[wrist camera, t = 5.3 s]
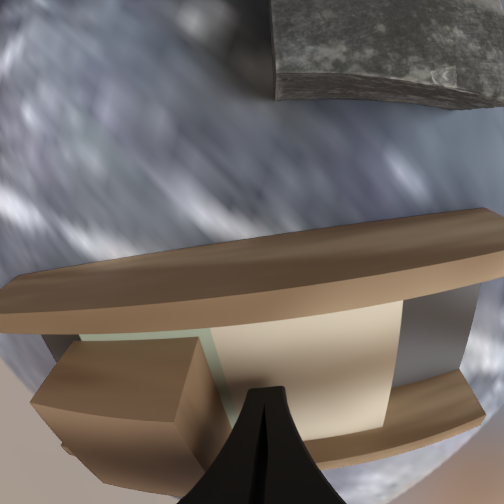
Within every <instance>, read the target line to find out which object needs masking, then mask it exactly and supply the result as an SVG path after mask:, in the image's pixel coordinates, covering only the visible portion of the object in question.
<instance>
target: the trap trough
mask: <svg viewBox="0 0 504 504" xmlns="http://www.w3.org/2000/svg"><path fill="white" fill-rule="evenodd" d="M503 276H504V217H502V216H500V215H498V214H497V213H495V212H493V211H491V210H488V209H486V208H477V209H468V210H460V211H452V212H443V213H435V214H427V215H419V216H411V217H404V218H396V219H388V220H380V221H373V222H365V223H358V224H350V225H343V226H335V227H328V228H321V229H314V230H306V231H299V232H292V233H285V234H278V235H271V236H264V237H257V238H250V239H243V240H237V241H230V242H223V243H216V244H210V245H203V246H196V247H190V248H183V249H177V250H170V251H164V252H157V253H151V254H144V255H138V256H132V257H126V258H119V259H113V260H107V261H101V262H95V263H88V264H82V265H76V266H70V267H64V268H58V269H52V270H47V271H41V272H35V273H29V274H23V275H19V276H17V277H16V278H15V279H13V280H12V281H11V282H9V283H8V284H7V285H6V286H4V287H3V288H2V289H1V290H0V333H14V334H41V335H42V337H43V339H44V341H45V343H46V345H47V347H48V348H49V350H50V352H51V354H52V355H53V357H54V359H55V361H56V362H58V361H59V360H60V358H61V357H62V356H63V354H64V353H65V352H66V350H67V349H68V348H69V346H70V345H71V344H72V342H73V341H115V340H147V339H167V338H184V337H198V336H199V339H200V342H201V345H202V348H203V351H204V354H205V357H206V360H207V362H208V365H209V368H210V371H211V374H212V377H213V379H214V382H215V385H216V388H217V390H218V393H219V396H220V399H221V401H222V404H223V406H224V409H225V412H226V414H227V417H228V419H229V422H230V425H231V427H232V429H233V427H234V425H235V423H236V421H237V419H238V416H239V414H240V412H241V409H242V407H243V404H244V401H245V398H246V395H247V392H248V390H249V389H252V388H263V387H273V386H284V387H285V390H286V396H287V402H288V406H289V409H290V413H291V415H292V418H293V421H294V423H295V425H296V428H297V430H298V432H299V434H300V436H301V438H302V440H303V442H304V444H305V446H306V448H307V450H308V452H309V453H310V455H311V457H312V458H313V460H314V462H315V463H316V465H317V466H318V468H319V469H320V470H327V469H334V468H340V467H345V466H351V465H356V464H361V463H365V462H370V461H374V460H379V459H383V458H387V457H390V456H394V455H398V454H402V453H405V452H408V451H412V450H415V449H418V448H421V447H424V446H428V445H430V444H433V443H436V442H439V441H442V440H445V439H447V438H450V437H453V436H455V435H458V434H460V433H463V432H465V431H467V430H470V429H472V428H474V427H477V426H479V425H481V423H482V421H483V419H484V418H485V416H486V414H485V412H484V410H483V408H482V406H481V405H480V403H479V401H478V399H477V398H476V396H475V394H474V393H473V391H472V389H471V387H470V386H469V384H468V383H467V381H466V379H465V378H464V376H463V374H462V373H461V371H460V370H459V367H460V364H461V361H462V357H463V354H464V351H465V347H466V344H467V341H468V337H469V333H470V329H471V325H472V321H473V317H474V313H475V309H476V304H477V299H478V294H479V289H480V284H481V282H484V281H488V280H492V279H495V278H499V277H503ZM61 446H62V448H63V449H64V450H65V451H66V452H67V453H68V454H70V455H74V454H73V453H72V452H71V451H70V450H69V449H68V448H67V447H66V446H65V445H64V443H63V442H62V444H61ZM74 456H75V455H74Z"/></svg>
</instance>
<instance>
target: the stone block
mask: <svg viewBox="0 0 504 504" xmlns="http://www.w3.org/2000/svg"><path fill="white" fill-rule="evenodd" d="M268 7H269V19H270V31H271V47H272V60H273V77H274V94H275V100H276V101H281V100H305V99H355V100H376V101H388V102H399V103H413V104H422V105H426V106H435V107H440V108H442V109H448V110H466V109H467V110H471V109H478V108H494V107H504V12H503V9H502V5H501V1H500V0H268Z"/></svg>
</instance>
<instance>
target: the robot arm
mask: <svg viewBox="0 0 504 504" xmlns="http://www.w3.org/2000/svg"><path fill="white" fill-rule="evenodd" d="M177 504H346V503H345V501H344V500H343V499H342V498H341V497H340V496H339V495H338V493H337V492H336V491H335V490H334V488H333V487H332V486H331V484H330V483H329V482H328V481H327V479H326V478H325V477H324V475H323V474H322V472H321V471H320V469H319V468H318V466H317V465H316V463H315V462H314V460H313V458H312V457H311V455H310V453H309V452H308V450H307V448H306V446H305V444H304V442H303V440H302V438H301V436H300V434H299V432H298V430H297V428H296V425H295V423H294V421H293V418H292V415H291V413H290V409H289V406H288V402H287V396H286V390H285V387H284V386H273V387H263V388H252V389H249V390H248V392H247V395H246V398H245V401H244V404H243V407H242V409H241V412H240V414H239V416H238V419H237V421H236V423H235V425H234V427H233V429H232V431H231V433H230V435H229V437H228V439H227V440H226V442H225V444H224V446H223V447H222V449H221V451H220V452H219V454H218V455H217V457H216V459H215V460H214V461H213V463H212V464H211V466H210V467H209V468H208V470H207V471H206V472H205V474H204V475H203V476H202V477H201V479H200V480H199V481H198V482H197V483H196V484H195V486H194V487H193V488H192V489H191V490H190V491H189V492H188V493H187V494H186V495H185V496H184V497H183V498H182V499H181V500H180V501H179V502H178V503H177Z"/></svg>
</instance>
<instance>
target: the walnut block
mask: <svg viewBox="0 0 504 504" xmlns="http://www.w3.org/2000/svg"><path fill="white" fill-rule="evenodd" d="M30 403H31V405H32V406H33V408H34V409H35V410H36V411H37V413H38V414H39V415H40V417H41V418H42V419H43V420H44V421H45V423H46V424H47V425H48V426H49V427H50V429H51V430H52V431H53V432H54V433H55V434H56V436H57V437H58V438H59V439H60V440H61V441H62V442H63V443H64V445H65V446H66V447H67V448H68V449H69V450H70V451H71V452H72V453H73V454H74V455H75V456H76V457H77V458H78V459H79V460H80V461H81V462H82V463H83V464H84V465H85V466H86V467H87V468H88V469H89V470H90V471H91V472H92V473H93V474H94V475H95V476H96V477H98V479H100V480H101V481H102V482H103V483H106V484H110V485H114V486H118V487H123V488H128V489H134V490H139V491H145V492H150V493H157V494H163V495H171V496H179V497H184V496H185V495H186V494H187V493H188V492H189V491H190V490H191V489H192V488H193V487H194V486H195V484H196V483H197V482H198V481H199V480H200V479H201V477H202V476H203V475H204V474H205V472H206V471H207V470H208V468H209V467H210V466H211V464H212V463H213V461H214V460H215V459H216V457H217V455H218V454H219V452H220V451H221V449H222V447H223V446H224V444H225V442H226V440H227V439H228V437H229V435H230V433H231V431H232V427H231V425H230V422H229V419H228V417H227V414H226V412H225V409H224V406H223V404H222V401H221V399H220V396H219V393H218V390H217V388H216V385H215V382H214V379H213V377H212V374H211V371H210V368H209V365H208V362H207V360H206V357H205V354H204V351H203V348H202V345H201V342H200V339H199V336H198V337H184V338H167V339H147V340H115V341H73V342H72V344H71V345H70V346H69V348H68V349H67V350H66V352H65V353H64V354H63V356H62V357H61V358H60V360H59V361H58V362H57V364H56V365H55V367H54V368H53V369H52V371H51V372H50V374H49V375H48V376H47V378H46V379H45V381H44V382H43V383H42V385H41V386H40V388H39V389H38V391H37V392H36V394H35V395H34V396H33V398H32V400H31V401H30Z"/></svg>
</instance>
